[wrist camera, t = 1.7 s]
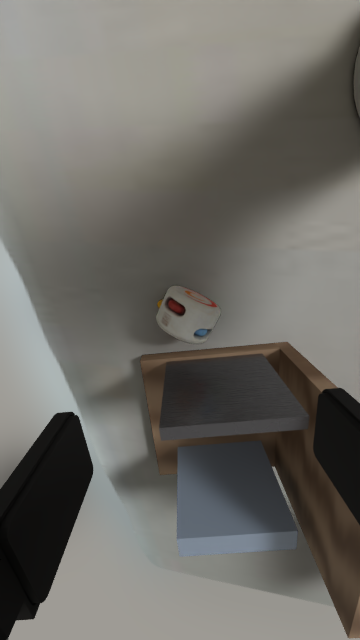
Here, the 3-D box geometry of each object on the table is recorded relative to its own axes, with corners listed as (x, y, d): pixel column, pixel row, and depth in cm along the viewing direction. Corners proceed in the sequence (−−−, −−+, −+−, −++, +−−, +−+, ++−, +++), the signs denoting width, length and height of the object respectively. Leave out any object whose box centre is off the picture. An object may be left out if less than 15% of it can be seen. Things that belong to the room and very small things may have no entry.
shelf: (142, 355, 28) (97, 489, 13) (287, 341, 27) (423, 465, 12) (160, 465, 33) (145, 648, 18) (281, 455, 33) (368, 637, 18)
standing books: (177, 446, 30) (176, 539, 21) (260, 440, 30) (297, 531, 21) (181, 472, 32) (181, 569, 22) (260, 466, 32) (295, 562, 22)
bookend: (166, 361, 26) (158, 428, 17) (262, 353, 26) (309, 416, 17) (167, 370, 27) (160, 440, 17) (262, 362, 26) (308, 429, 17)
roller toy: (202, 335, 27) (208, 358, 22) (152, 313, 26) (145, 332, 21) (219, 302, 26) (230, 317, 20) (168, 278, 25) (165, 288, 19)
